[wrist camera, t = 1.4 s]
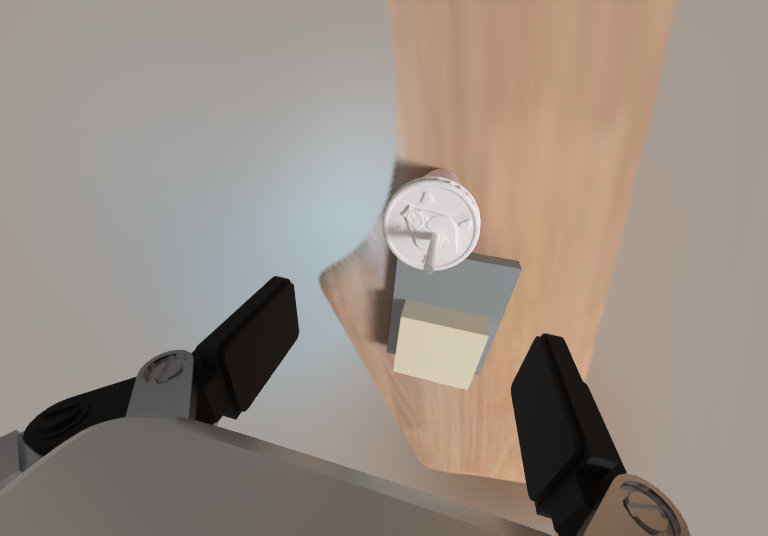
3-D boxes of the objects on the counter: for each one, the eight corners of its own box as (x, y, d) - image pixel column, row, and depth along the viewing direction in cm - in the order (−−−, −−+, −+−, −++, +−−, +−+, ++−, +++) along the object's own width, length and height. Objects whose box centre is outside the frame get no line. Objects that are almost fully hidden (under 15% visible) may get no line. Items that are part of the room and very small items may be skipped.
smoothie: (441, 233, 28) (426, 328, 17) (392, 192, 27) (340, 263, 16) (491, 185, 25) (515, 262, 13) (437, 136, 24) (412, 173, 12)
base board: (401, 240, 30) (392, 261, 26) (519, 261, 28) (527, 286, 24) (389, 344, 38) (381, 370, 35) (478, 365, 36) (479, 396, 33)
